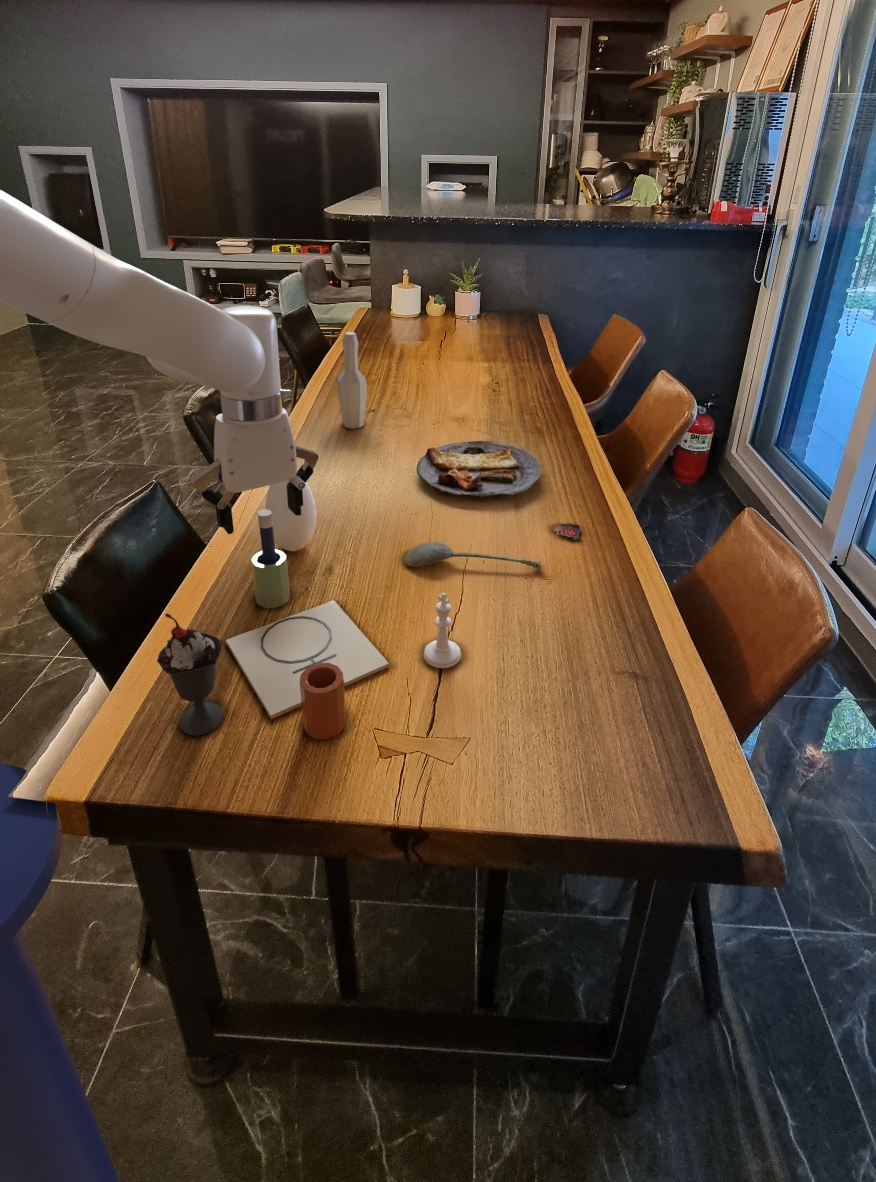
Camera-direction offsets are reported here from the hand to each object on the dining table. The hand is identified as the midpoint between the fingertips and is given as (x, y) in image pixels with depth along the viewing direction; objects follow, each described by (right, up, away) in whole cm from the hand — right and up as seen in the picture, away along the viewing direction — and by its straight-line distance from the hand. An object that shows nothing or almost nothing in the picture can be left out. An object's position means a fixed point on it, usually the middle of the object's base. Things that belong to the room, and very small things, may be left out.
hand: (262, 520), depth 96 cm
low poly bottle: (+3, +16, +67) cm, 69 cm away
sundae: (-3, -22, -15) cm, 27 cm away
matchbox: (+47, -5, +25) cm, 53 cm away
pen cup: (0, -12, +6) cm, 14 cm away
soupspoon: (+30, -9, +16) cm, 35 cm away
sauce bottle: (0, -7, +19) cm, 20 cm away
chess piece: (+25, -18, -4) cm, 31 cm away
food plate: (+32, +5, +44) cm, 55 cm away
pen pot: (+12, -22, -15) cm, 29 cm away
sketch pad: (+7, -17, -5) cm, 19 cm away
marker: (0, -12, +6) cm, 13 cm away
